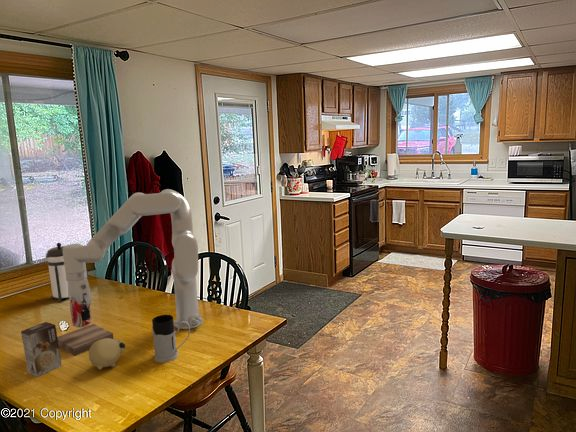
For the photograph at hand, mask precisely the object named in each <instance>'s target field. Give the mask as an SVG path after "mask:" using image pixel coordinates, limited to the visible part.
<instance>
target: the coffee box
mask: <svg viewBox="0 0 576 432" xmlns="http://www.w3.org/2000/svg"><path fill="white" fill-rule="evenodd" d="M20 333H21V339H22V344H23V345H22V346H23V351H24V356H25V362H26V367H27V373H28V374H30V375H32V376H34V377H36V378H37V377H41V376H42V375H45V374H47V373H49V372H50V371H52V370H55V369H57V368H59V367H61V366H63V365H62V358H61V353H60V352H61V351H60V347H59V344H58V338H57V337H58V333H57V327H56V324H54V323H51V322H48V321H45V322H43V323H39V324H36V325H34V326H32V327H28V328H25V329H24V330H21V332H20Z"/></svg>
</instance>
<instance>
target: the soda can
mask: <svg viewBox="0 0 576 432" xmlns="http://www.w3.org/2000/svg"><path fill="white" fill-rule="evenodd" d="M82 303H85V301H83V302H82ZM84 306H85V304H84V305H83V308H84ZM69 307H70V317H71V323H72V326H73V327H76V328H83V327H86V326H89V325H91V323H92V312H91V310H90V319H88V320H85V321H82V317H81V311H82V310H81V307H80V305H79V304H78V303H77V302H76V300H75V299H72V298H71V301H70V300H69Z"/></svg>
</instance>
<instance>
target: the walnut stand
mask: <svg viewBox="0 0 576 432" xmlns="http://www.w3.org/2000/svg"><path fill="white" fill-rule="evenodd" d="M57 338H58V344H59V348H61V349H63V351H66V352H67V353H69V354H70V355H72V356H74V357H75V356H77V355H80V354H82V353H85V352H89V350H90V347H91V346H92V345H93V344H94V343H95V342H96V341H98V340H101V339H105V338H111V339H115V338H114V333H113V332H111V330H110V331H109V330H107V329H105V328H104V327H101V326H99V325H97V324H95V323H92V324H89V325H87V326H85V327H80V328H77V329H76V330H72V331H70V332H67V333H64V334H61V335H59V336H57Z"/></svg>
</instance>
